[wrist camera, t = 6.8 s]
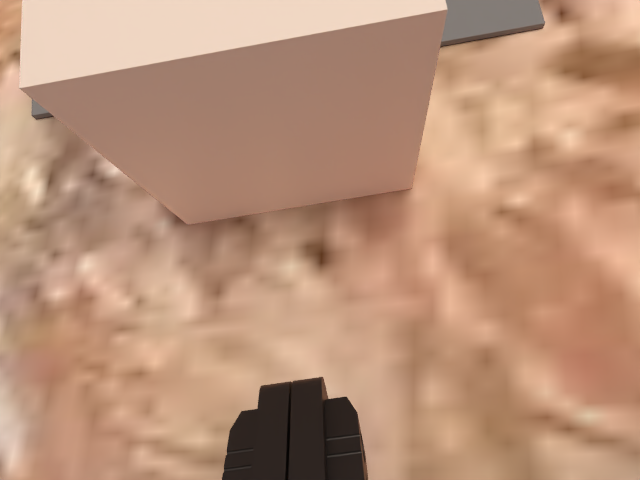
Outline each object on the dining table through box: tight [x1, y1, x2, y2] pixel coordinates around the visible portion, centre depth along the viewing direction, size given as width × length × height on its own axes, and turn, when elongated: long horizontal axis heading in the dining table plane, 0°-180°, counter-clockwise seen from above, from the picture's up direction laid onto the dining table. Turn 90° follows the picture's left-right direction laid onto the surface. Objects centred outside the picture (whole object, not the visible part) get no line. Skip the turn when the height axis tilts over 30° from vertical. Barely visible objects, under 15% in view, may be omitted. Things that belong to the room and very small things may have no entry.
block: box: [19, 0, 448, 225], centre depth 16 cm, size 3×9×10 cm, turn 98°
